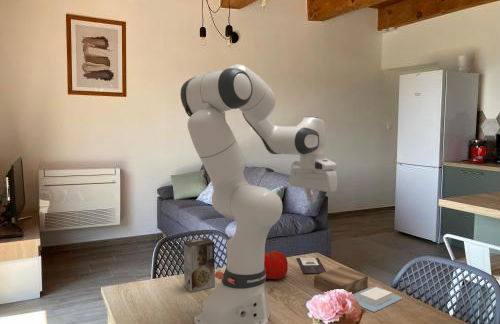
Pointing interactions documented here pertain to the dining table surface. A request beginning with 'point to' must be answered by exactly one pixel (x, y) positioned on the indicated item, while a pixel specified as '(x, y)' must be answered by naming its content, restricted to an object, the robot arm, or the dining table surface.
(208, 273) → the coffee box
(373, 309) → the mat
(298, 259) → the chocolate bar
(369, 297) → the cream slab
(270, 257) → the tomato
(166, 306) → the dining table surface
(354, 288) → the brown wooden box
